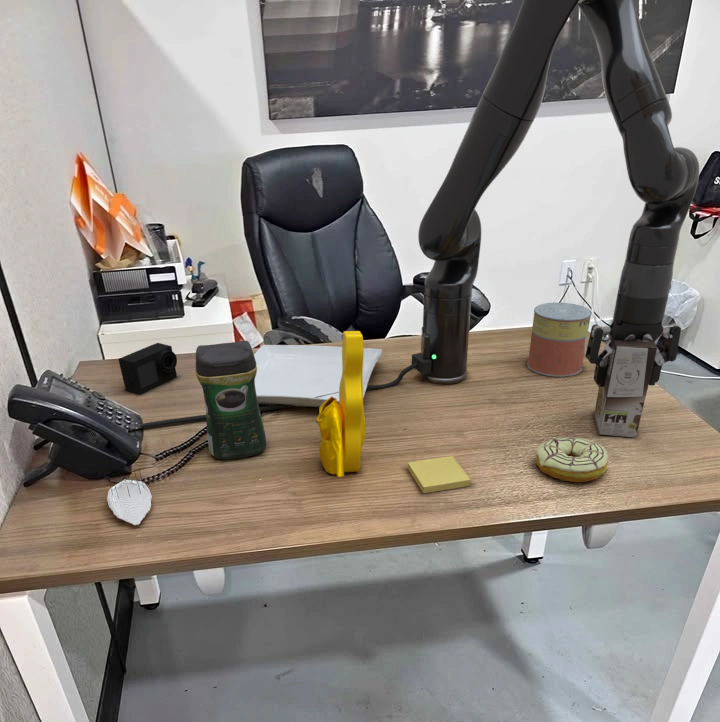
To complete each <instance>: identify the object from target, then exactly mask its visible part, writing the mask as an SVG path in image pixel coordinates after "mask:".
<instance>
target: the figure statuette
mask: <svg viewBox="0 0 720 722" xmlns="http://www.w3.org/2000/svg"><path fill="white" fill-rule="evenodd" d="M341 342H342V343H341V347H342V377H341V381H340V386H339V405H338V403H337V399H336V398H334V397H330V398H329V399H328V400H326V401H325V402H324V403H323V404H322V405H321V406H320V407H318V408H319V409H318V410H319V411H318V412H319V414H318V415H317V417H316V419H315V422H316V424H317V425H318V428H319V434H320V440H319V441H320V442H319V450H318V451H319V452H318V453H319V455H318V457H319V459H320V462H321V465H322V467H323V469H324V470H325V472H326V473H327V474H328V473H329V474H331V475H336V478H344V477H345V473H355V472H357V473H358V472H359V471H360V469H361V458H362V449H363V446H364V443H365V440H366V435H367V425H366V415H365V409H364V408H365V407H364V398H363V381H362V374H363V353H364V348H365V341H364V336H363V334H362V332H361V331H360V330H344V331H343V333H342V341H341Z"/></svg>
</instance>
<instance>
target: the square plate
mask: <svg viewBox="0 0 720 722" xmlns="http://www.w3.org/2000/svg"><path fill="white" fill-rule="evenodd" d="M253 354H254V357H255V361H256V364H257V373H256V376H255V389H256V395H257V401H258V405H261V406H269V405H275V404H288V405H296V406H295V407H306V408H320V406H321V405H322V404H323V403H324V402H325V401H326V400H328V399H329V398H330V397H334V398H336V399H337V403H338V405H339V393H336V392H339V386H340V381H341V377H342V346H336V345H335V346H333V345H308V344H307V345H303V344H264V345H261V346H260V347H259V348H258V349H257V350H256V352H255V353H253ZM382 354H383V349H381V348H371V347H364V353H363V374H362V381H363V399H364V398H365V394H366V391H367V390H366V388H367V386H368V385H369V382H370V379H371V375H372V373H373V370H374V368H375V366H376V364H377V362H378V361H379V359H380V358H381V356H382ZM332 393H334V394H332ZM327 394H330V395H327ZM322 395H326V396H322ZM318 396H322V397H318ZM314 397H318V398H314Z"/></svg>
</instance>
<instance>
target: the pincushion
mask: <svg viewBox="0 0 720 722" xmlns="http://www.w3.org/2000/svg"><path fill="white" fill-rule="evenodd" d="M133 472H134V473H136V471H135V469H133ZM122 474H123V475H125V474H124V471H122ZM111 475H112V479H113V484H114V486H111V482H110V478H109V477H107V479H108V480H107V481H108V483H109V487H110V488H109V489H108V492H107V496H106V497H107V498H106V501H107V504H108V508H109V509H110V510H111V511H112V512H113V515H114V516H116V518H117V519H120V520H122V521H124V522H126V523H129V524H132V526H137V525H140V524H141V522H142V521H143V520H144V519H145V517H146V515H147V514H148V513H149V512H150V510H151V507H152V503H151V502H152V498H153V496H152V493H151V490H150V488H149V487H148V486H147V484H146V483H145V482H143V478H142V474H141V470H140V469H139V475H140V480H138V478H137V475H136V474H134V476H135V480H133V479H132V480H131V479H126V477H125V476H123V478H124V480H121V481H120V482H118V483H117V484H116V482H115V479H114V474H113V473H112V474H111Z"/></svg>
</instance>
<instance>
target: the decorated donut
mask: <svg viewBox="0 0 720 722" xmlns="http://www.w3.org/2000/svg"><path fill="white" fill-rule="evenodd" d="M608 457H609V453H608V451H607V449H606V447H604V446H603V445H601V444H600V443H598V442H596V441H593V440H590V439H588V438H584V437H573V436H563V437H555V438H551V439H548V440H546V441H544V442H543V443H541V444H540V445H539V446H538V447H537V450H536V458H535V460H536V465H537V466H538V468H539V470H540V471H541V472H542V473H544V474H546V475H548V476H550V477H551V478H554V479H560V480H561V481H567V482H572V483H586V482H590V481H593V480H596V479H597V478H600V477H601V476H602V475H604V474H605V472H606V471H607V469H608V465H609V458H608Z"/></svg>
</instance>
